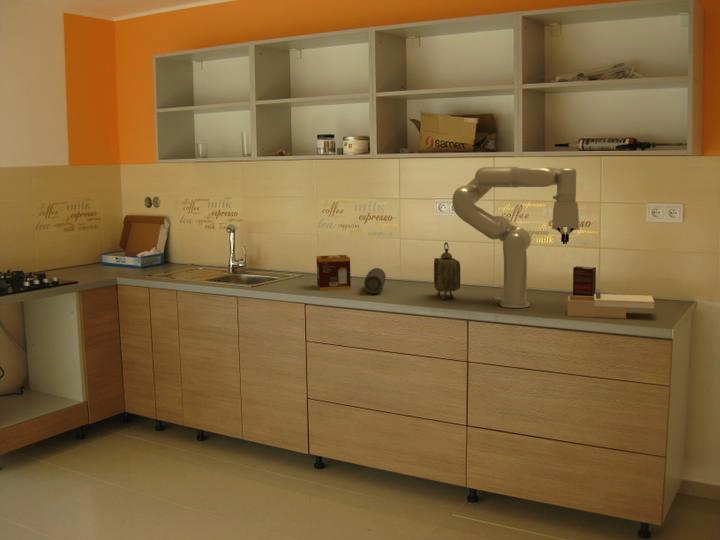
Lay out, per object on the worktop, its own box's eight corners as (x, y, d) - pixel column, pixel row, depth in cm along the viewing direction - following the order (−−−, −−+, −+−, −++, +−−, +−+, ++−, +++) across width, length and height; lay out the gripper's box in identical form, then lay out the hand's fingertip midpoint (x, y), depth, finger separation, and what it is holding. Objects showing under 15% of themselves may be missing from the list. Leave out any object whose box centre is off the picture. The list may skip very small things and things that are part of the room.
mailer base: (567, 316, 314) (567, 300, 314) (568, 310, 325) (568, 295, 324) (625, 318, 308) (626, 302, 307) (624, 312, 319) (625, 297, 318)
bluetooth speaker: (383, 295, 364) (383, 274, 363) (363, 295, 365) (362, 274, 364) (386, 287, 386) (386, 266, 385) (367, 287, 387) (367, 266, 386)
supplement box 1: (316, 287, 390) (316, 255, 387) (347, 285, 392) (347, 254, 390) (319, 290, 379) (318, 258, 377) (351, 289, 382) (350, 257, 379)
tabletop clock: (433, 295, 363) (433, 240, 359) (453, 294, 364) (453, 240, 360) (440, 301, 349) (440, 244, 345) (460, 300, 350) (461, 244, 346)
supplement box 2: (595, 304, 337) (596, 267, 334) (592, 306, 333) (593, 268, 330) (575, 302, 341) (576, 265, 339) (571, 304, 338) (572, 267, 335)
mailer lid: (594, 306, 310) (594, 293, 310) (594, 300, 322) (594, 287, 322) (653, 308, 304) (654, 295, 303) (651, 302, 316) (652, 289, 315)
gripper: (546, 199, 320) (545, 244, 323) (585, 199, 316) (583, 245, 319) (547, 198, 327) (546, 242, 330) (585, 198, 323) (584, 243, 326)
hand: (564, 243), depth 325 cm, fingers closed
